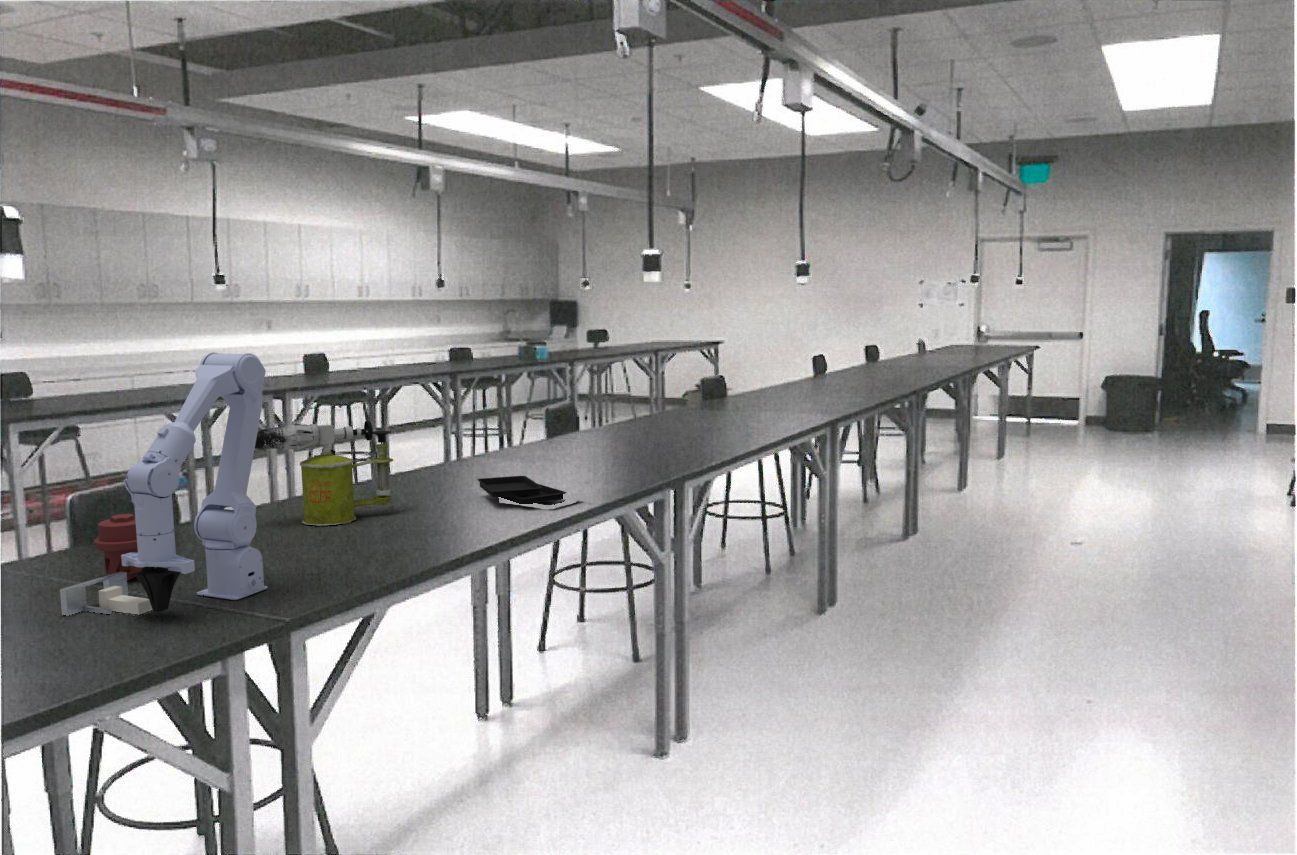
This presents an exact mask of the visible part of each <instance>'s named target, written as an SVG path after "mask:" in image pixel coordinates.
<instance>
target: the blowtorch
mask: <svg viewBox="0 0 1297 855" xmlns="http://www.w3.org/2000/svg"><path fill="white" fill-rule="evenodd" d="M390 433H392V432H391V430H373V425H372V422H371V421H370V420H365V421H364V423H363V428H361V427H356V428H355V429H353V427H352V426H350V425H349V426H344V427H341V428H340V427H339V428H334V425H333V424H321V425H318V424H316V423H312V424H311V423H309V424H305V423H301V422H299V421H294V422H293V423H292V424H289V425H288V424H287V425H281V426H276V427H270V428H269V427H268V428H264V429H258V432H257V438H256V443H255V449H254V450H262V449H263V450H273V449H275V450H294V451H296V452H300V451H303V450H305V449H307V448H309V447H311V448H314V447H319V446H320V445H322V448H321V452H320V455H316V456H313V457H312V456H311V457H310V458H307V459H305V460H301V461H300V462H299V466H300V468H301V469H300V470H301V481H302V482H301V485H302V486H301V488H302V501H303V503H302V504H303V519H301V524H302V523H304V524H307V525H316V526H321V525H336V524H341V523H346V522H349V521H351V520H353V519H354V516H355V508H356V507H362V506H363V507H364V506H372V505H377V504H378V505H381V506H385V505H388V504H389V503H390V502H391V500H392V498H393V495H391V492H392V491H391V488H390V478H389V473H390V472H389V463H392V462H394V458H389V457H388V456H387V454H388V446H389V444H388V443H386V435H388V434H390ZM373 435H376V436H377V443H378V444H375V449H376V455H377V458H372V459H370V460H365V461H361V462H356V463H354V459H353V458H349V457H346V456H343V455H337V454H336V450H335V449H333V445H332V444H334V443H335V440H339V439H344V440H351V439H353V438H354V436H356V437H361V436H364V438H365V439H366V441H372V439H373ZM375 463H376V473H377V474H376V476H377V489H376V490H375V495H376V496H373V498H369V499H368V498H367V499H357V500H356V499H355V498H354V476H353V475H354V474H353V468H357V467H361V466H366V465H370V464H375ZM354 499H355V500H354Z"/></svg>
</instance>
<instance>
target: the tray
mask: <svg viewBox="0 0 1297 855" xmlns="http://www.w3.org/2000/svg"><path fill="white" fill-rule="evenodd" d="M476 481H478V482H479V487H480V488H481V489H482V490H483V491H485V492H486V493H487V494H488V495H489V496H490V497H492V498H495V497H501V498H504V499H507V500H510V501H513V502H516V503H519V504H533V503H538V504H539V503H540V504H544V505H549V504H551V505H552V504H553V503H547V502H552V501H554V502H555V501H558V500H559V502H558V503H562V502H561V501H563V502H564V501H565V500H561V499H563V494H567V491H564V490H561V489H557V488H554V487H551V486H548V485H547V486H546V485H543V484H540V483H537V482H535V481H534V480H532V479H531V478H529V477H528V476H526V475H511V476H500V477H499V476H498V477H497V476H495V477H484V478H483V477H482V478H477V479H476ZM546 503H547V504H546ZM554 505H555V504H554Z"/></svg>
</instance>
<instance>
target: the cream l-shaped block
mask: <svg viewBox="0 0 1297 855" xmlns="http://www.w3.org/2000/svg"><path fill="white" fill-rule="evenodd" d="M97 591H98V602H99V608H106V609H111V610H112V611H116V612H123V613H131V614H138V615H139V614H142V613H145V612H147V611H151V610H153V609H152V606H151V604H150V601H149V598H146V597H140V596H139V597H137V596H131V595H128V596H126V595H123V594H122V587H119V586H112V587H109V588H106V589H104V588H103V589H100V590H97Z"/></svg>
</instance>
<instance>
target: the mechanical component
mask: <svg viewBox="0 0 1297 855" xmlns="http://www.w3.org/2000/svg"><path fill="white" fill-rule="evenodd" d="M97 528H98V537H97V538H95V540H94V541H93V542H94V549H96V550H98V551H100V552H104V553H103V554H104V566H105V567H104V569H105V573H106V575H111V574H114V573H117V572H126V573H127V581H128V580H129V581H131V580H133V579H135V578H134V577H136V575H135V574H136V573H137V572H140V571H141V570H142V567H135V566H130V565H129V566H122V559H121V555H123V554H127V553H138V547H137V534H136V520H135V514H132V513H120V514H116V515H112V516H111V517H110V518H109V519H105V520H103V521H102V520H101V521H100V522H99V523H97ZM132 578H133V579H132ZM130 579H131V580H130ZM129 581H128V582H129Z"/></svg>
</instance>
